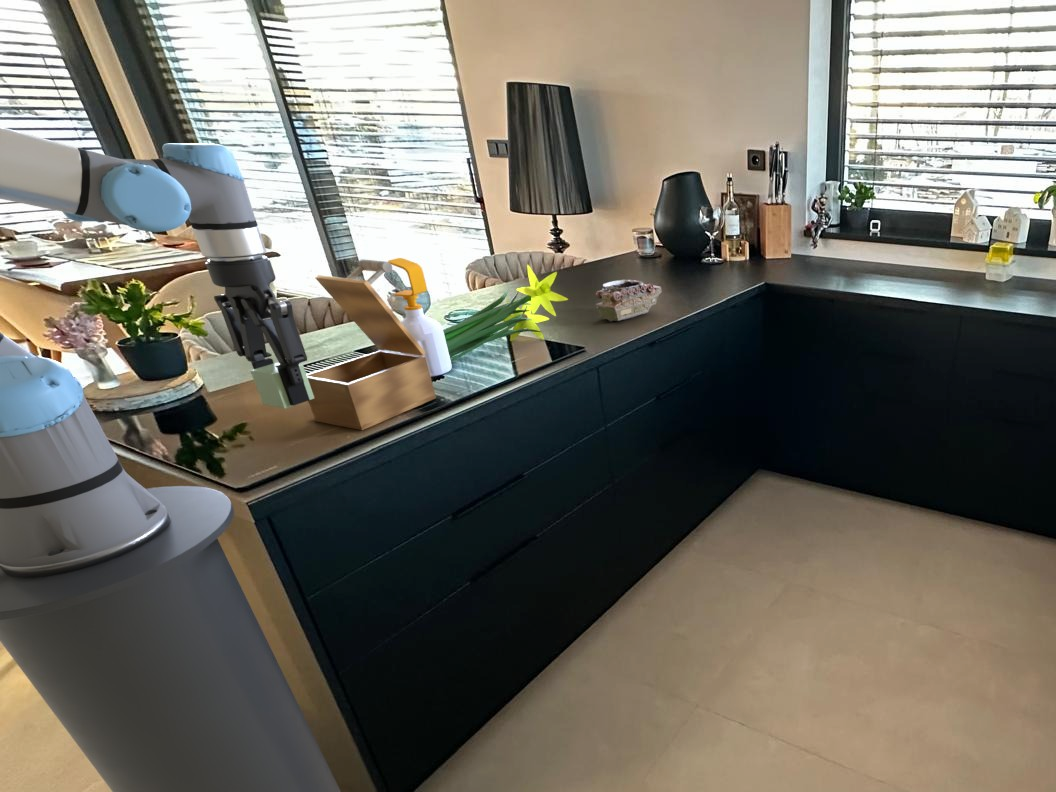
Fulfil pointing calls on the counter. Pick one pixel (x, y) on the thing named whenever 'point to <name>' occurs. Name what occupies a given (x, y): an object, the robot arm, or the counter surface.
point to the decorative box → (626, 299)
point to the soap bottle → (423, 321)
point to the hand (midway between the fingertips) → (287, 399)
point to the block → (275, 385)
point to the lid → (371, 308)
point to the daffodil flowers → (503, 317)
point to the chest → (370, 389)
